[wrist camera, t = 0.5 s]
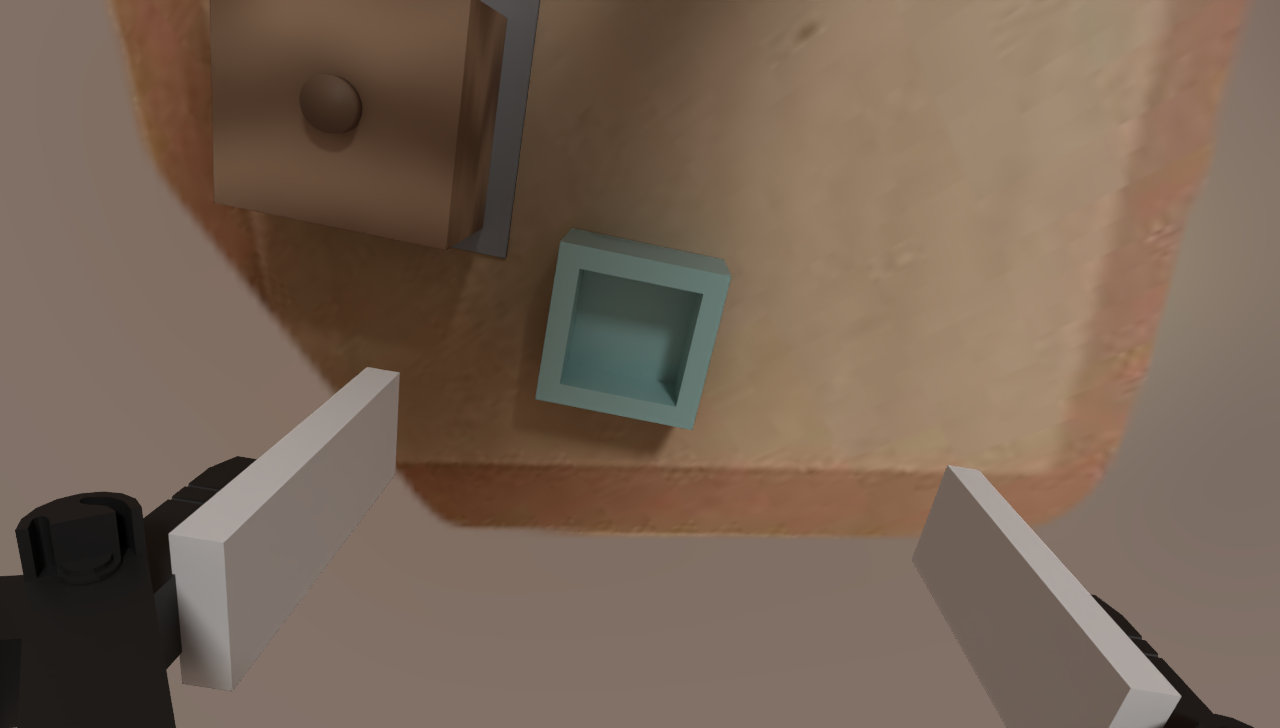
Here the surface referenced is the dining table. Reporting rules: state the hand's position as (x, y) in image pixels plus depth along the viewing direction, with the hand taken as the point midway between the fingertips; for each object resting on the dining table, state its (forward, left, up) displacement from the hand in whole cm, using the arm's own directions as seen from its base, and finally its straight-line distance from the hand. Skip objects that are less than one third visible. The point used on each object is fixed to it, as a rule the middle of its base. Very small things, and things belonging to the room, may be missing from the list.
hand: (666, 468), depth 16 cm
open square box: (+4, -1, -24) cm, 25 cm away
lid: (-5, -16, -24) cm, 30 cm away
